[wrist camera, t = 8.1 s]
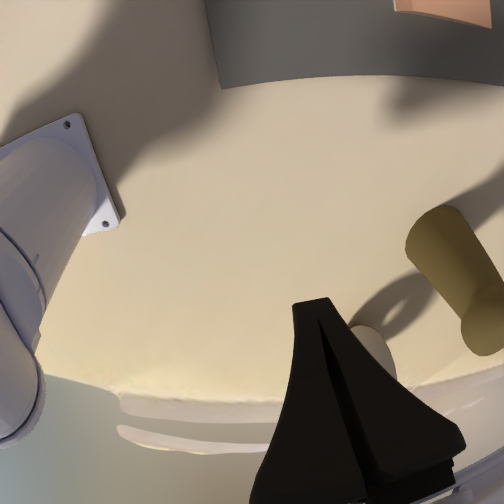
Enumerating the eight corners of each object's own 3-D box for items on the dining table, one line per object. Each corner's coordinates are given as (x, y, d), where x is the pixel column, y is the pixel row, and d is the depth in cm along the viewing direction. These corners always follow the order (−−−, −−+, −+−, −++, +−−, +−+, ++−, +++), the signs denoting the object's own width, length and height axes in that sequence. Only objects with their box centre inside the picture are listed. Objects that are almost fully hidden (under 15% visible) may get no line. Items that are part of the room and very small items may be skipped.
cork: (391, 249, 23) (456, 364, 15) (441, 192, 20) (531, 295, 12) (429, 273, 26) (485, 372, 17) (472, 226, 23) (545, 317, 14)
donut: (357, 359, 33) (381, 437, 25) (328, 364, 33) (348, 446, 25) (375, 299, 27) (416, 395, 19) (340, 305, 27) (374, 407, 19)
